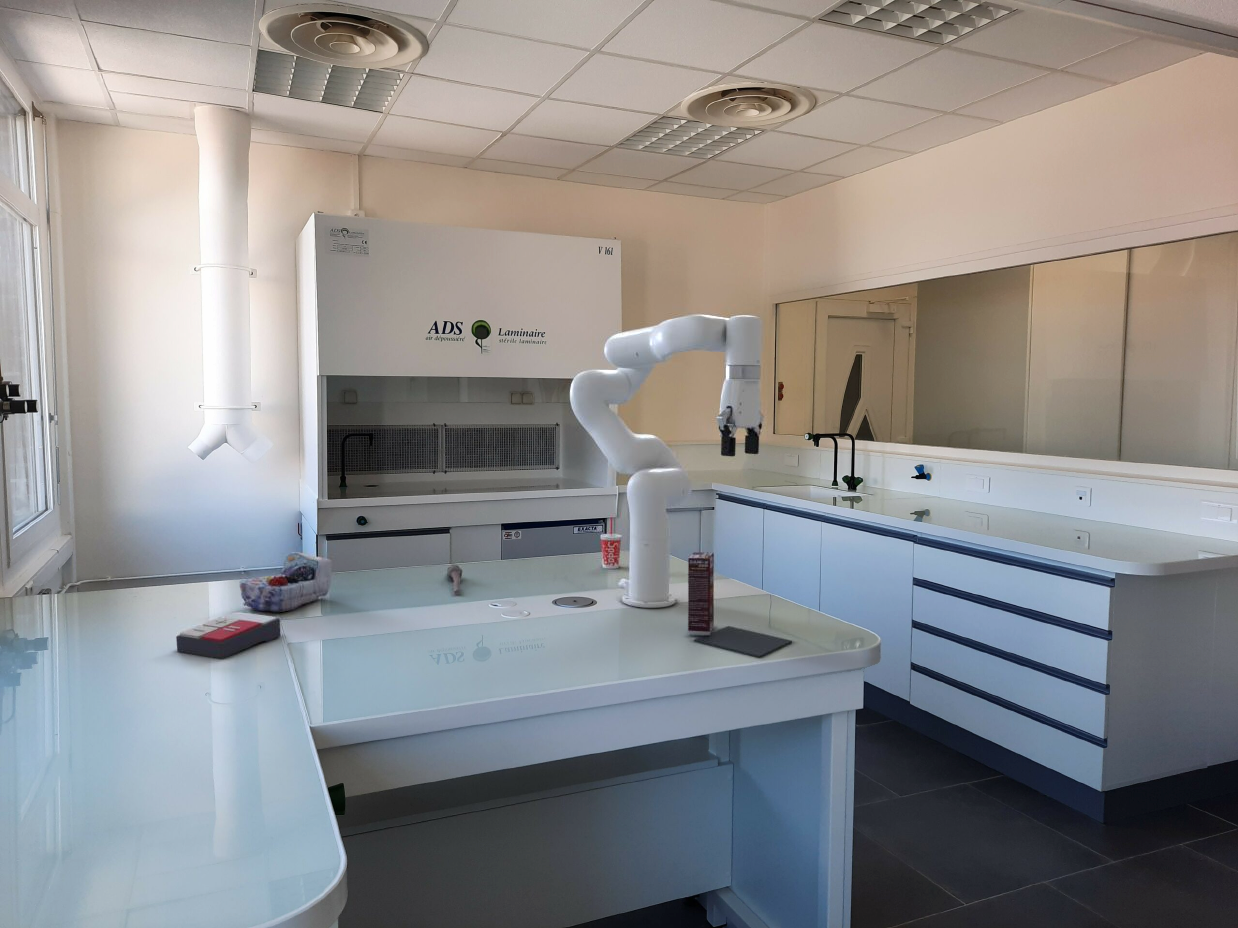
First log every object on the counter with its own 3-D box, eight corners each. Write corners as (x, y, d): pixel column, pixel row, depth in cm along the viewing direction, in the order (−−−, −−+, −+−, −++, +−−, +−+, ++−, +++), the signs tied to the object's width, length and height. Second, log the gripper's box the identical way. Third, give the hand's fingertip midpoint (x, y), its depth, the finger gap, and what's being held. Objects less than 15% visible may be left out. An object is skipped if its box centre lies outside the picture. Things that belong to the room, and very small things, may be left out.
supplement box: (711, 636, 169) (710, 558, 169) (687, 635, 170) (686, 557, 170) (715, 626, 178) (714, 552, 177) (692, 625, 179) (691, 551, 178)
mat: (693, 641, 167) (693, 639, 167) (728, 627, 177) (728, 625, 177) (759, 657, 158) (759, 655, 158) (792, 642, 168) (792, 640, 168)
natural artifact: (455, 579, 222) (464, 566, 222) (457, 596, 200) (467, 583, 200) (443, 571, 221) (452, 558, 221) (444, 588, 199) (454, 574, 199)
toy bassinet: (338, 551, 195) (277, 570, 176) (339, 596, 196) (278, 620, 177) (293, 546, 199) (228, 564, 180) (294, 590, 200) (230, 613, 182)
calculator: (174, 632, 154) (236, 608, 168) (176, 654, 155) (238, 629, 169) (221, 639, 151) (280, 614, 165) (222, 662, 151) (281, 635, 165)
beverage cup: (597, 568, 233) (598, 518, 231) (601, 564, 239) (602, 515, 237) (619, 569, 232) (620, 519, 230) (623, 565, 238) (624, 516, 236)
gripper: (747, 375, 187) (745, 451, 188) (705, 373, 173) (703, 455, 175) (778, 375, 182) (775, 454, 184) (736, 373, 169) (734, 458, 170)
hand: (740, 454), depth 179 cm, fingers open, 9 cm apart
